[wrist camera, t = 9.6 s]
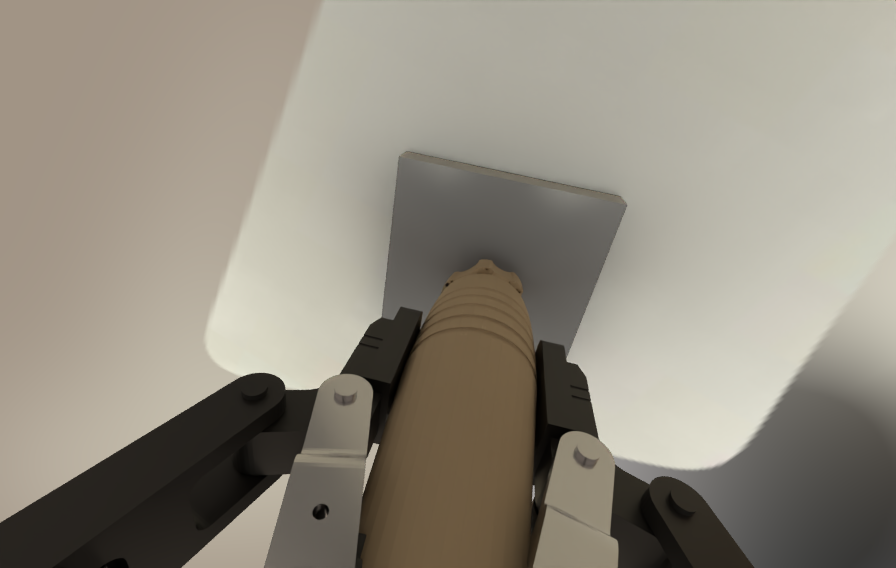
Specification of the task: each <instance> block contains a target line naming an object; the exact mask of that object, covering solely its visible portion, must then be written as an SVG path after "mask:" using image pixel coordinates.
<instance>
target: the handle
mask: <svg viewBox="0 0 896 568" xmlns="http://www.w3.org/2000/svg"><path fill="white" fill-rule="evenodd" d="M522 293H523V287H522V283H521V281H520V279H519V277H518V276H517V275H516V273H514V272H506V271H504V270H501V269H500V268H498V267H497V266H496V265H495V264H494V263H493V261H492V260H487V259H481V260H479V262H478V263H477V264H476V265H475V266H473V267H472V268H470V269H468V270H466V271H462V272H459V271H458V272H454V273H453V274H452V275H451V276H450V277H449V279H448V280H447V281H446V283H445V285H444V286H443V289H442V291H441V295H440V296H439V297H438V299H437V300H436V302H435V303H434V305H433V307H432V308H431V310H430V312H429V314H428V316H427V318H426V320H425V322H424V323H423V325H422V327H421V329H420V331H419V333H418V336H417V338H416V340H415V342H414V345H413V347H412V349H411V352H410V354H409V356H408V359H407V361H406V363H405V366H404V369H403V372H402V375H401V377H400V380H399V384H398V387H397V390H396V393H395V396H394V399H393V403H392V406H391V409H390V412H389V415H388V418H387V422H386V425H385V428H384V431H383V434H382V437H381V441H380V444H379V447H378V450H377V453H376V456H375V459H374V463H373V466H372V469H371V472H370V475H369V478H368V481H367V484H366V487H365V491H364V493H363V496H362V504H361V514H360V523H359V533H363V534H366V539H365V542H364V546H363V550H362V553H361V557H360V559H362V568H528V566H527V556H528V550H529V544H530V536H531V511H532V489H533V468H534V448H535V427H536V406H537V373H536V357H535V347H534V340H533V334H532V328H531V323H530V318H529V314H528V311H527V309H526V306H525V303H524V301H523V299H522V297H521V295H522Z"/></svg>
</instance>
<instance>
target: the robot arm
mask: <svg viewBox="0 0 896 568" xmlns="http://www.w3.org/2000/svg"><path fill="white" fill-rule="evenodd" d="M422 315H423V312H422V311H418V310H414V309H410V308H405V307H400V309H399V310H398V312H397V314H396V316H395V318H394V320H391V319H386V318H382V317H381V318H380V319H378V320H377V321H375V322H374V323H372V324H370V326H369V327H368V329H367V331H366V332H365V334H364V337H362V339H361V340H360V342H359V345H357V347H356V349H355V350H354V352H353V354H352V355H351V357H350V358H349V360H348V362H347V363H346V365H345V367H344V368H343V370H342V372H341V373H340V375H336V376H333V377H331V378H329V379H327V380H326V381H324V382H323V383H322V384H321V386H320V387H319V388H318V389H312V390H285V385H284V383H283V381H282V380H281V379H280V378H279V377H277V376H275V375H272V374H268V373H254V374H249V375H245V376H243V377H240V378H238V379H237V380H235V381H233V382H231V383H230V384H228V385H227V386H225V387H223V388H222V389H220V390H218V391H217V392H215V393H214V394H212V395H210V396H208V397H207V398H205V399H203V400H202V401H200V402H199V403H197V404H195V405H194V406H192V407H190V408H189V409H187V410H185V411H184V412H182V413H181V414H179V415H177V416H175V417H174V418H172V419H170V420H169V421H167V422H166V423H164V424H162V425H161V426H159V427H157V428H156V429H154V430H152V431H151V432H149V433H147V434H146V435H144V436H142V437H141V438H139V439H138V440H136V441H134V442H133V443H131V444H129V445H128V446H126V447H124V448H123V449H121V450H119V451H118V452H116V453H114V454H113V455H111V456H110V457H108V458H106V459H105V460H103V461H101V462H100V463H98V464H96V465H95V466H93V467H92V468H90V469H88V470H87V471H85V472H83V473H82V474H80V475H78V476H77V477H75V478H73V479H72V480H70V481H68V482H67V483H65V484H63V485H62V486H60V487H59V488H57V489H55V490H53V491H52V492H50V493H49V494H47V495H45V496H44V497H42V498H41V499H39V500H37V501H36V502H34V503H32V504H30V505H29V506H27V507H25V508H24V509H22V510H21V511H19V512H17V513H16V514H14V515H12V516H11V517H9V518H7V519H6V520H4V521H3V522H1V523H0V568H181V567H182V566H183V565H185V564H186V563H187V562H188V561H189V560H190V559H191V558H192V557H193V556H195V555H196V554H197V553H198V552H199V551H200V550H201V549H202V548H203V547H204V546H205V545H207V544H208V543H209V542H210V541H211V540H212V539H213V538H214V537H215V536H216V535H217V534H219V533H220V532H221V531H222V530H223V529H224V528H225V527H226V526H227V525H228V524H230V523H231V522H232V521H233V520H234V519H235V518H236V517H237V516H238V515H239V514H240V513H242V512H243V511H244V510H245V509H246V508H247V507H248V506H249V505H250V504H251V503H253V501H255V500H256V499H257V498H258V497H259V496H260V495H261V494H262V493H263V492H265V490H267V489H268V488H269V487H270V486H271V485H272V484H273V483H274V482H276V481H277V480H278V479H279V478H280V477H281V476H282V475H283V474H290V477H289V480H288V484H287V487H286V491H285V495H284V498H283V502H282V505H281V509H280V513H279V516H278V519H277V523H276V527H275V530H274V533H273V537H272V541H271V545H270V548H269V551H268V555H267V559H266V562H265V566H264V568H362V559H360V557H361V553H362V550H363V546H364V542H365V539H366V534H363V533H359V523H360V514H361V504H362V495H363V485H364V476H365V466H366V458H367V457H368V454H369V452H370V450H371V447H372V445H373V443H376V444H380V441H381V437H382V434H383V431H384V428H385V425H386V422H387V418H388V415H389V412H390V409H391V406H392V403H393V399H394V396H395V393H396V390H397V387H398V384H399V380H400V377H401V375H402V372H403V369H404V366H405V363H406V361H407V359H408V356H409V354H410V352H411V349H412V347H413V345H414V342H415V340H416V338H417V336H418V333H419V331H420V327H421V321H422ZM535 357H536V373H537V406H536V427H535V448H534V468H533V485H535V497H534V499H533V501H532V511H531V536H530V544H529V550H528V556H527V566H528V568H754V567H753V565H752V564H751V563H750V561H749V560H748V559H747V557H746V556H745V554H744V553H743V552H742V550H741V549H740V548H739V546H738V545H737V544H736V542H735V541H734V539H733V538H732V537H731V535H730V534H729V533H728V531H727V530H726V529H725V527H724V526H723V524H722V523H721V522H720V521H719V519H718V518H717V516H716V515H715V514H714V512H713V511H712V510H711V508H710V507H709V505H708V504H707V503H706V501H705V500H704V499H703V498H702V497H701V496H700V495H699V494H698V493H697V492H696V491H695V490H694V489H692V488H691V487H690V486H688V485H687V484H685V483H683V482H682V481H679V480H677V479H675V478H672V477H665V476H664V477H663V476H662V477H657V478H655V479H654V480H652V482H651V483H650V485H649V484H647V483H646V482H644V481H642V480H640V479H638V478H636V477H634V476H632V475H631V474H629V473H627V472H625V471H623V470H622V469H621V468H619V467H617V466H616V465H615V461H614V458H613V456H612V454H611V452H610V450H609V449H608V448H607V447H606V446H605V445H604V444H603V443H602V442H601V441H600V440H599V438H598V433H597V428H596V423H595V418H594V413H593V409H592V404H591V402H590V401H591V399H590V394H589V392H588V390H589V389H588V384H587V379H586V376H585V375H584V373H583V372H582V371H581V369H580V368H579V366H578V365H576V364H572V363H568V362H567V361H566V354H565V348H564V346H563V345H560V344H556V343H552V342H547V341H543V340H540V342H539V344H538V346H537V349H536V352H535Z"/></svg>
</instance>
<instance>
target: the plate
mask: <svg viewBox="0 0 896 568" xmlns="http://www.w3.org/2000/svg"><path fill="white" fill-rule="evenodd" d="M626 207H627V204H626V203H625V201H624V200H623V199H622V198H621V197H620V196H616V195H611V194H606V193H601V192H597V191H592V190H587V189H582V188H578V187H573V186H568V185H564V184H559V183H554V182H549V181H545V180H540V179H535V178H530V177H526V176H521V175H516V174H511V173H507V172H502V171H497V170H493V169H488V168H483V167H478V166H474V165H469V164H464V163H459V162H455V161H450V160H445V159H440V158H436V157H431V156H426V155H421V154H417V153H412V152H405V153H404V154H402V155H400V156H399V162H398V171H397V180H396V190H395V199H394V208H393V217H392V227H391V236H390V245H389V254H388V263H387V273H386V282H385V291H384V300H383V310H382V318H386V319H391V320H394V318H395V316H396V314H397V312H398V310H399V309H400V307H405V308H410V309H414V310H418V311H422V312H423V315H422V321H421V327H422V325H423V323H424V322H425V320H426V318H427V316H428V314H429V312H430V310H431V308H432V307H433V305H434V303H435V302H436V300H437V299H438V297H439V296H440V295H441V291H442V289H443V286H444V285H445V283H446V281H447V280H448V279H449V277H450V276H451V275H452V274H453V273H454V272H458V271H459V272H462V271H466V270H468V269H470V268H472V267H473V266H475V265H476V264H477V263H478V262H479V260H481V259H487V260H492V261H493V263H494V264H495V265H496V266H497V267H498V268H500V269H501V270H504V271H506V272H514V273H516V275H517V276H518V277H519V279H520V281H521V283H522V287H523V293H522V295H521V297H522V299H523V301H524V303H525V306H526V309H527V311H528V314H529V318H530V323H531V328H532V334H533V340H534V347H535V352H536V349H537V346H538V344H539V342H540V340H543V341H547V342H552V343H556V344H560V345H563V346H564V348H565V354H566V358H567V355H568V353H569V350H570V348H571V345H572V343H573V340H574V338H575V335H576V333H577V330H578V328H579V325H580V323H581V320H582V318H583V315H584V313H585V310H586V308H587V305H588V302H589V300H590V297H591V295H592V292H593V290H594V287H595V285H596V282H597V280H598V277H599V275H600V272H601V270H602V267H603V265H604V262H605V260H606V257H607V255H608V252H609V250H610V247H611V245H612V242H613V240H614V237H615V235H616V232H617V230H618V227H619V225H620V222H621V220H622V217H623V215H624V212H625V210H626ZM421 327H420V329H421Z"/></svg>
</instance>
